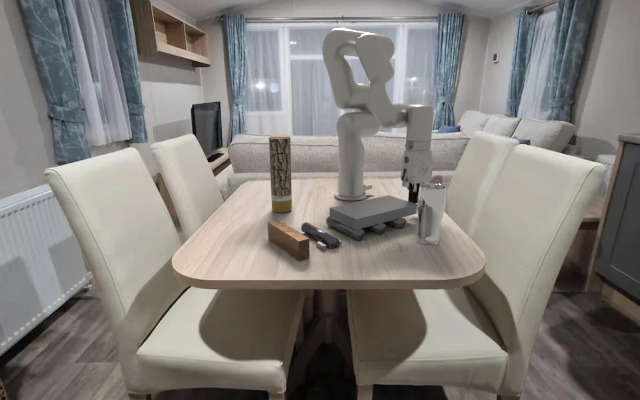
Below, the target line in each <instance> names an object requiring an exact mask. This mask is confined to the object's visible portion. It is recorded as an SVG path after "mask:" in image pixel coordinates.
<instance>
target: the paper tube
mask: <svg viewBox="0 0 640 400" xmlns="http://www.w3.org/2000/svg"><path fill="white" fill-rule="evenodd" d="M268 144H269V147H268V148H269V149H268V150H269V169H270V170H269V171H270V172H269V173H270V193H271V194H270V196H271V210H272V211H273V212H274V213H280V214H282V213H283V214H284V213H288V212H290V211H292V210H293V205H292V204H293V201H292V200H293V199H292V197H293V196H292V191H293V190H292V188H293V187H292V158H291V157H292V155H291V153H292V152H291V151H292V149H291V146H292V145H291V135H289V134H288V135H287V134H272V135H269V137H268Z"/></svg>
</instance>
